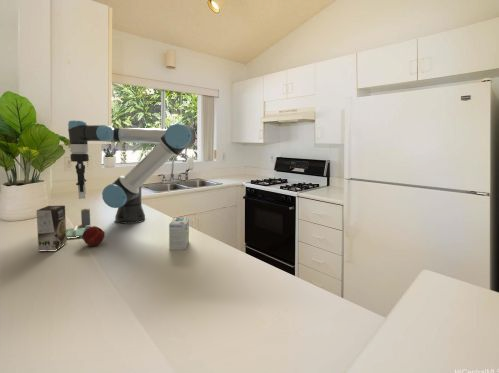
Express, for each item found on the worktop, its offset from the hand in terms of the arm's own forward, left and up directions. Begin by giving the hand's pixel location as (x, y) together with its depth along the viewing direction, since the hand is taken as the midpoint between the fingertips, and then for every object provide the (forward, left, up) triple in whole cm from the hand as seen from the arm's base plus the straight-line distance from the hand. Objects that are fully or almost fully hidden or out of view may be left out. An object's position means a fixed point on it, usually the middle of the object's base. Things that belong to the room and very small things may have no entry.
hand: (82, 196), depth 138 cm
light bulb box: (-37, +46, -15) cm, 61 cm away
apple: (-5, +33, -15) cm, 37 cm away
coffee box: (+9, +31, -15) cm, 35 cm away
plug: (-1, -1, -15) cm, 15 cm away
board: (+2, +15, -15) cm, 21 cm away
